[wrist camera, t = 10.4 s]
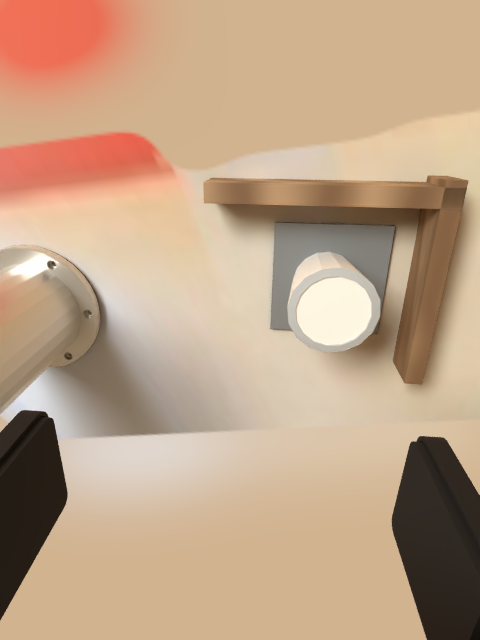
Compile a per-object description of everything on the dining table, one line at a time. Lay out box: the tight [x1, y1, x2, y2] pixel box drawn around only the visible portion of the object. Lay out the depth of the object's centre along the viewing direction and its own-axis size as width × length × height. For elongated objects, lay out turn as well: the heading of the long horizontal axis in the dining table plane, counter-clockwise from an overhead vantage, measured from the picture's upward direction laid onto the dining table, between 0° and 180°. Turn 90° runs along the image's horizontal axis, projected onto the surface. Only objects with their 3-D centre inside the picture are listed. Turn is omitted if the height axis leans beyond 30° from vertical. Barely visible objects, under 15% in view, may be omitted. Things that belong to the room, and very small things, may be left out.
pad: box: [270, 222, 395, 334], centre depth 37 cm, size 10×10×1 cm
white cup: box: [287, 252, 380, 352], centre depth 33 cm, size 7×7×7 cm
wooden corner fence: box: [204, 176, 468, 384], centre depth 35 cm, size 19×17×4 cm
